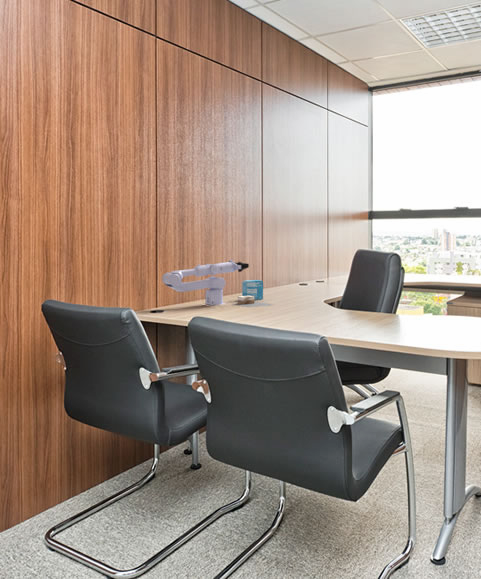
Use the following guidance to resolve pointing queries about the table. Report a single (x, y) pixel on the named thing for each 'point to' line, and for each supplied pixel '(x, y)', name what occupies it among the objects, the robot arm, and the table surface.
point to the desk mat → (254, 304)
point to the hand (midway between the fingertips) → (244, 265)
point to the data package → (253, 289)
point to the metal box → (245, 299)
